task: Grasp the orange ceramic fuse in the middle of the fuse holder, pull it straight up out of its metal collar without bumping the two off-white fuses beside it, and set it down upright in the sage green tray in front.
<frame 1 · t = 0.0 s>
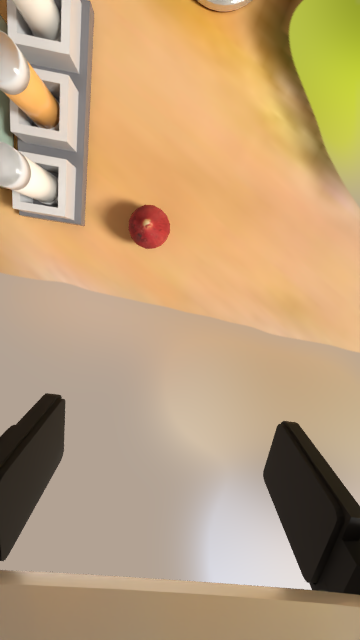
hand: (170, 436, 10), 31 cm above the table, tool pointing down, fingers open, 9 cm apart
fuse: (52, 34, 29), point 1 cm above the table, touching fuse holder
fuse holder: (56, 124, 33), on the table
marked fuse: (51, 117, 32), point 1 cm above the table, touching fuse holder
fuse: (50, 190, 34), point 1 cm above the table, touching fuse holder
onion: (151, 230, 37), on the table
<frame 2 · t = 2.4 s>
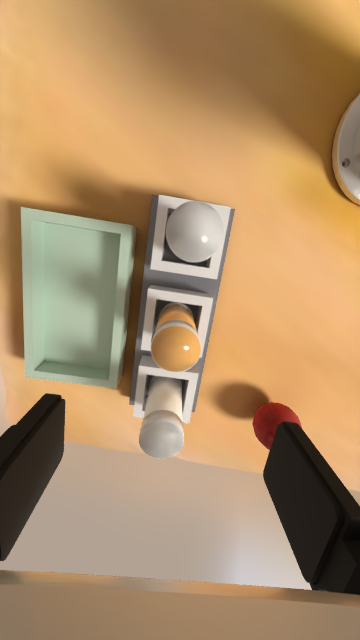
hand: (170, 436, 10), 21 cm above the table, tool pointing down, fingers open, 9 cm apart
fuse holder: (176, 314, 30), on the table
tray: (85, 301, 29), on the table
marked fuse: (176, 317, 29), point 1 cm above the table, touching fuse holder
onion: (265, 407, 34), on the table
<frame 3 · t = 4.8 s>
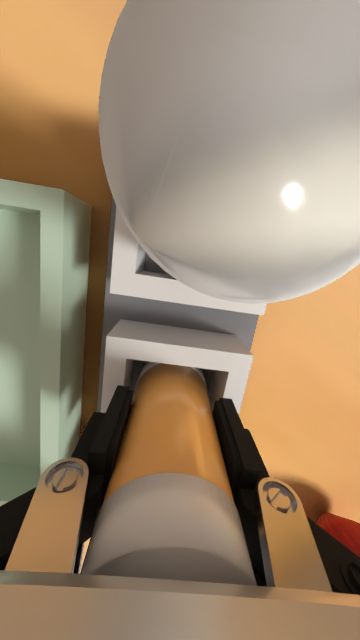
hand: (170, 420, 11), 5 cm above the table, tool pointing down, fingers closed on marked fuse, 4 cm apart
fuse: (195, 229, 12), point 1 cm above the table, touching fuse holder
fuse holder: (171, 368, 16), on the table
marked fuse: (171, 379, 15), point 2 cm above the table, touching fuse holder, gripper
onion: (322, 513, 20), on the table
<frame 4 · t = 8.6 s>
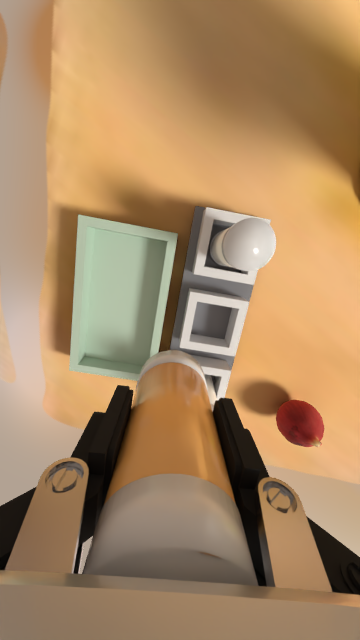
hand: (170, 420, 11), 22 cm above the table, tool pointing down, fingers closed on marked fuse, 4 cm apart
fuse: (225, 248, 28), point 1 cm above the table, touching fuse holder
fuse holder: (208, 315, 32), on the table
tray: (125, 301, 32), on the table
marked fuse: (172, 380, 15), point 18 cm above the table, touching gripper
onion: (286, 404, 36), on the table
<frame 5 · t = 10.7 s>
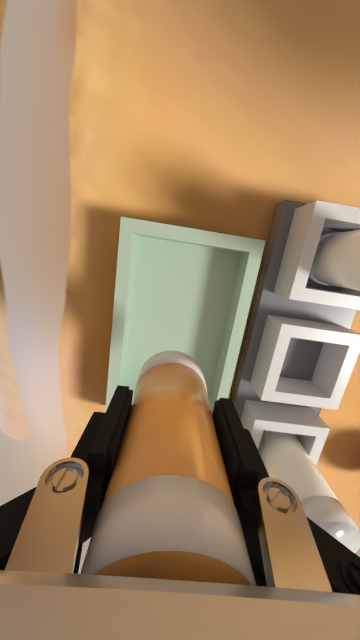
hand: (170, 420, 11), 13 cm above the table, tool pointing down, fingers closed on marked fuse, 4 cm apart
fuse holder: (286, 348, 24), on the table
tray: (175, 333, 23), on the table
marked fuse: (171, 380, 15), point 9 cm above the table, touching gripper
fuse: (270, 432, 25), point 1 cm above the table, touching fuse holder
when the fingers open (6 cm above the table, at t = 12.6 s): marked fuse drops 1 cm, resting on tray.
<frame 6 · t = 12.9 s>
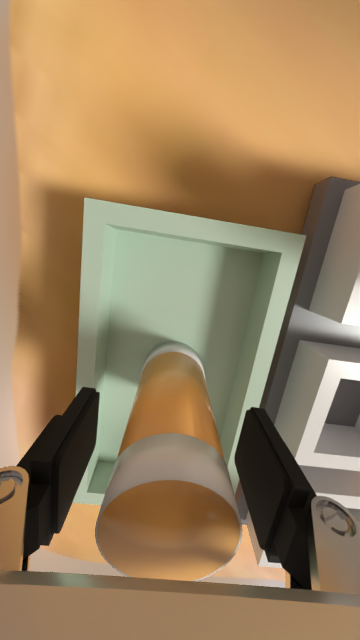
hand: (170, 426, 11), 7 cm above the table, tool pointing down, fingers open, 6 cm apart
fuse holder: (320, 382, 18), on the table
tray: (171, 362, 17), on the table
marked fuse: (173, 369, 16), point 1 cm above the table, touching tray
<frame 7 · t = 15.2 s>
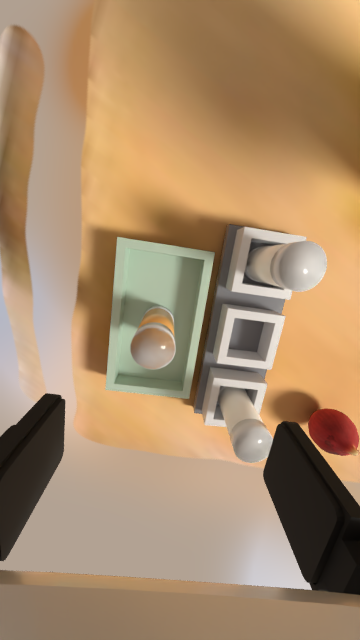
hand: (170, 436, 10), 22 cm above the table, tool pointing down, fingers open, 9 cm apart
fuse holder: (239, 329, 33), on the table
tray: (158, 318, 32), on the table
marked fuse: (158, 320, 31), point 1 cm above the table, touching tray
onion: (315, 413, 37), on the table
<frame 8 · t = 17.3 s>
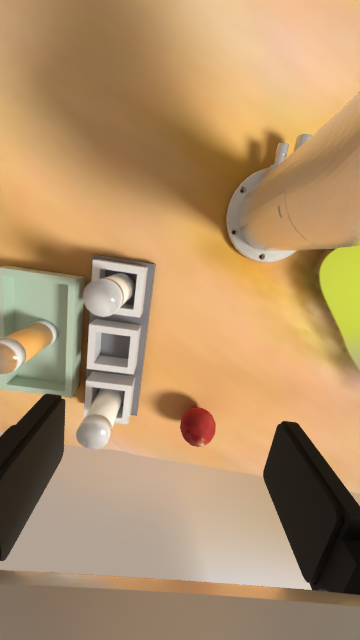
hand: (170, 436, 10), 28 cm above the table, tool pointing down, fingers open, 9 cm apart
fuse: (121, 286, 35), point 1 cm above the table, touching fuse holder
fuse holder: (118, 339, 39), on the table
tray: (47, 330, 38), on the table
marked fuse: (45, 332, 37), point 1 cm above the table, touching tray
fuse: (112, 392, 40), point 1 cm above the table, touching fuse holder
onion: (195, 411, 43), on the table
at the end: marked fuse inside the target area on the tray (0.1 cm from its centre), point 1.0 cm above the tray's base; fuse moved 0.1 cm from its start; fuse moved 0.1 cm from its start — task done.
